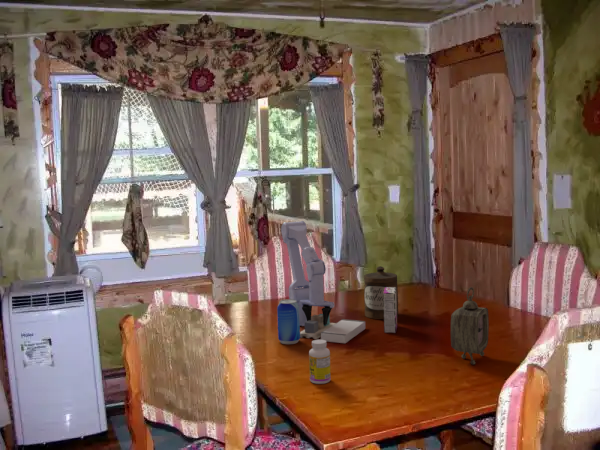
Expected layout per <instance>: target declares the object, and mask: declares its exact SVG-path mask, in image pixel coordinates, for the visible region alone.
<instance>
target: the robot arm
mask: <svg viewBox="0 0 600 450" xmlns="http://www.w3.org/2000/svg"><path fill="white" fill-rule="evenodd" d="M280 230H281V231H280V232H281V237H282V240H283V243H285V244H286V246H287V254H288V257H289V264H290V268H291V273H292V279H293V282H291V283H290V285H289V287H288V299H293V300H296V301H297V304H298V305H299V320H300V326H301V327H305V322H307V321H308V320H311V316H312V312H313V311H312V308H313V307H322V308H321V312H322V314H323V324H324V325H326V324H327V321H328V317H329V314H331V311H332V310H333V308H334V307H335V302H334V301H328V300H325V295H324V291H325V289H324V276H325V274H326V271H327V270H326V269H327V268H326V263H325V262H324V260H322V259H321V258H319V255H318V254H317V251H316V250H315V248H314V247H312V246H311V244H310V242H309V239H308V237H307V236H308V235H307V232H308V226H307V223H306V221H304V220H301V221H299V220H298V221H290V222H289V221H287V222H286V221H284V222H283V223H282V224H281V229H280ZM300 249H301V252H300ZM301 256H302V257H301ZM302 258H303V261H304V263H305V265H306V268H305V271H306V274H307V279H306V276H305V274H304V273H305V271H304V266H303V261H302Z"/></svg>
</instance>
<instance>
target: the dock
mask: <svg viewBox="0 0 600 450" xmlns="http://www.w3.org/2000/svg"><path fill="white" fill-rule="evenodd" d="M335 323H336V324H335V325H333V326H331V327H330V328H328V329H327V330H325V331H323V332H321V337H320V340H326V342H330V343H338V344H339V343H340V344H346V343H348V342H349V341H350V340H352V339H354V337H356V336H357V335H359V334H360V333H362V332H363V331H364V330H365V329H366V321H365V320H356V319H345V318H342V319H341V320H339V321H338V322H335Z"/></svg>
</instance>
